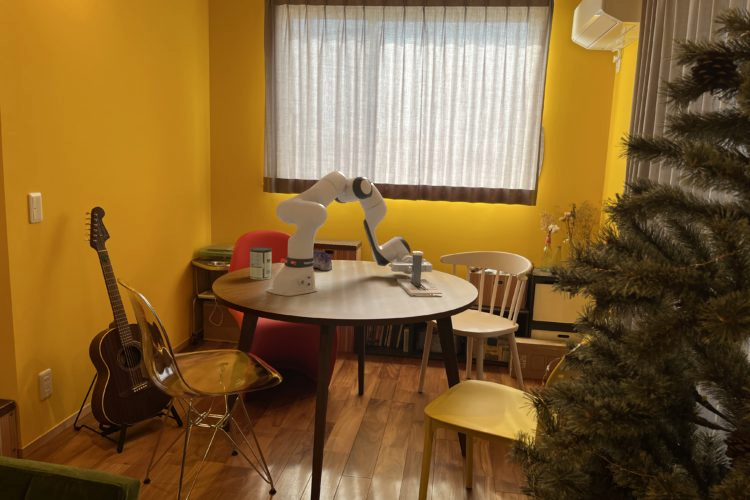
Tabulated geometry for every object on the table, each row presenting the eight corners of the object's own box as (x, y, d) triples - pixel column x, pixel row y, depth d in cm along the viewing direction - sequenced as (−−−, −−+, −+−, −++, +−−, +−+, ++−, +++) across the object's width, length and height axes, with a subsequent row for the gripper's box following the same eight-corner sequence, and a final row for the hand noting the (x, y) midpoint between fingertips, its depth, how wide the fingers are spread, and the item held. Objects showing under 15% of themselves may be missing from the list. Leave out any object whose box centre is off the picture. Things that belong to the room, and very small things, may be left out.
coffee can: (253, 274, 273) (253, 246, 271) (274, 276, 272) (274, 247, 270) (246, 279, 263) (246, 249, 260) (268, 280, 262) (268, 250, 259)
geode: (340, 271, 293) (338, 252, 291) (319, 275, 288) (318, 256, 286) (324, 262, 311) (323, 245, 308) (305, 266, 306) (303, 248, 303)
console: (397, 282, 271) (397, 278, 271) (425, 282, 274) (425, 279, 273) (410, 296, 244) (411, 292, 244) (441, 296, 247) (442, 292, 246)
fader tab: (410, 284, 265) (411, 251, 263) (419, 284, 266) (421, 251, 264) (412, 286, 261) (414, 252, 259) (421, 287, 262) (423, 252, 259)
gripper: (388, 258, 276) (394, 263, 262) (428, 259, 279) (436, 264, 266) (387, 270, 277) (393, 276, 263) (427, 271, 280) (435, 277, 267)
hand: (415, 270), depth 265 cm, fingers closed
